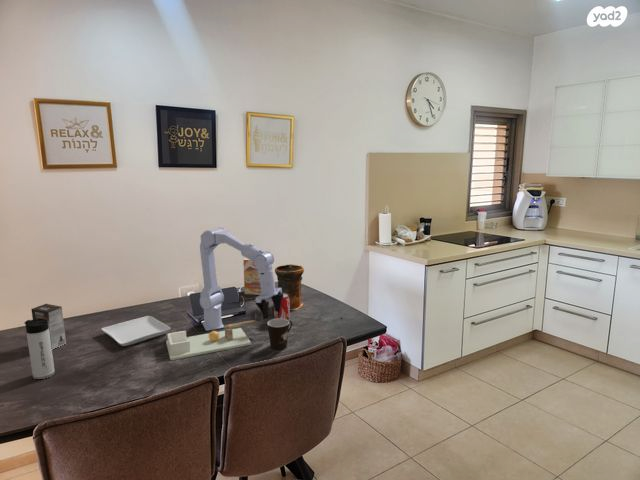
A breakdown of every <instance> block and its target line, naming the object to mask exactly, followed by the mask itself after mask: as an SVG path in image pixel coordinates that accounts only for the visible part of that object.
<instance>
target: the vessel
mask: <svg viewBox="0 0 640 480" xmlns="http://www.w3.org/2000/svg"><path fill="white" fill-rule="evenodd" d="M304 272H305V269H304V267H303V266H302V265H298V264H294V263H293V264H292V263H291V264H284V265H279V266H276V267H275V268H274V273H275V275H276V278H277V288H282V293H285V294H288V297H289V302H290V311H291V310H293V311H294V310H298V309H300V308H301V307H303V306H304V302H302V297H301V296H302V281H303V276H302V275H303V274H304ZM301 303H302V304H301Z"/></svg>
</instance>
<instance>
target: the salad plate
mask: <svg viewBox="0 0 640 480" xmlns="http://www.w3.org/2000/svg"><path fill="white" fill-rule="evenodd" d="M170 330H171V327H170V326H169V325H167V324H165V323H163V322H162V321H160V320H158V319H156V318H155V317H153V316H150V315H146V316H143V317H138V318H134V319H130V320H126V321H123V322H119V323H118V322H117V323H116V324H113V325H107V326H105V327H102V328H100V331H102V332H103V333H105V334H106V335H107V336H109V337H110V338H111V339H112V340H114V341H116V343H118V345H120V346H122V347H127V346H130V345H136V344H138V343H140V342H144V341H146V340H151V339H153V338H156V337H158V336H162V335H165V334H168V332H170Z"/></svg>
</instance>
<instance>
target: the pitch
mask: <svg viewBox="0 0 640 480" xmlns="http://www.w3.org/2000/svg"><path fill="white" fill-rule="evenodd" d="M217 332H218V334H219V338H218V339H217V340H216V341H211V340H210V339H209V334H210V332H209V333H204V334H197V335H191V336H186V337H187V341H188V340H189V341H190V351H188V352H183V353H178V354H172V355H171V353H170V349H169V345H168V340H166V341H165V342H166V348H167V352H168V356H169V359H170V361H174V360H179V359H185V358H190V357H195V356H199V355H206V354H211V353H216V352H219V351H220V352H221V351H227V350H232V349H236V348H241V347H247V346H251V345H252V341H251V340H250V339H249V337H248V336H247V334H246V333H245V331H244V330H243V329H242V327H236V328H232V332H233V339H231V340H228V339H227V338H226V336H225V330H220V331H217Z"/></svg>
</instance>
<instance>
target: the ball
mask: <svg viewBox="0 0 640 480" xmlns="http://www.w3.org/2000/svg"><path fill="white" fill-rule="evenodd" d="M218 332H219V331H216V330H211V331H210V332H209V333H210V334H209V339H210V340H211V341H216V340H217V339H218V338H219V334H218Z"/></svg>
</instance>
